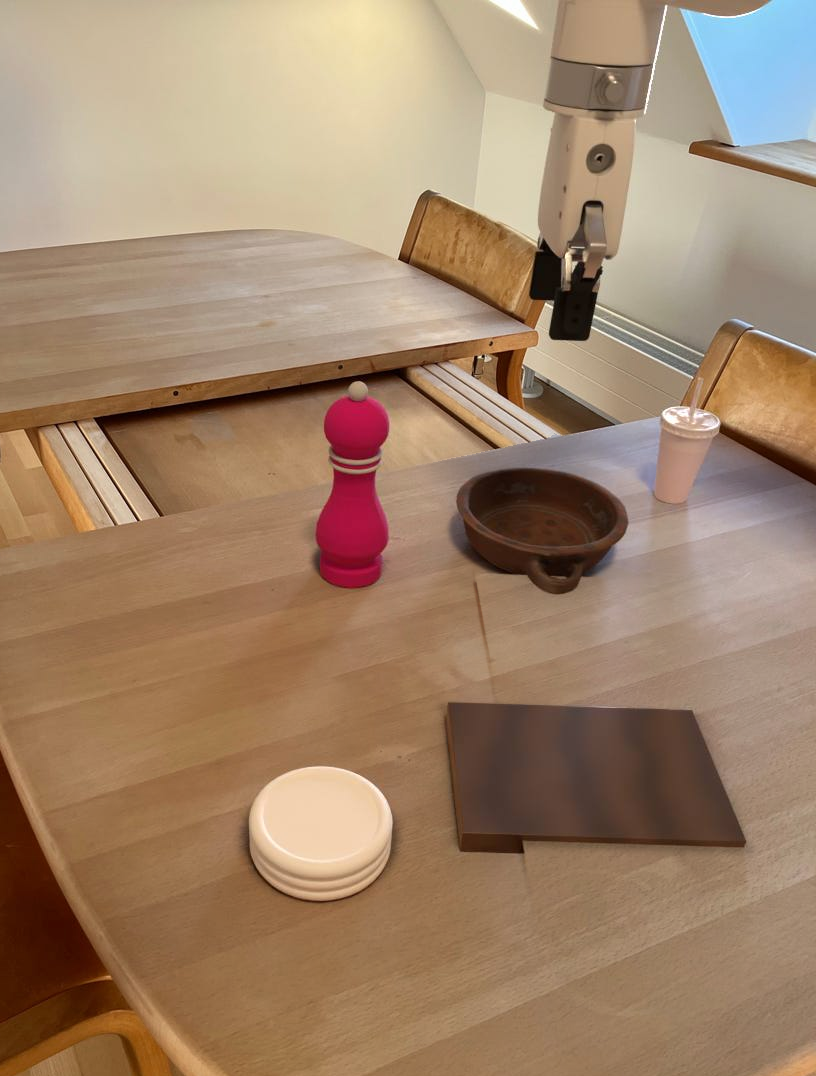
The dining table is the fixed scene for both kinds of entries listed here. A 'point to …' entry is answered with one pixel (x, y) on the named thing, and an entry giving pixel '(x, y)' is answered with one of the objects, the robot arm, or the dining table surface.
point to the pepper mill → (353, 491)
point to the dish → (541, 523)
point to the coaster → (320, 833)
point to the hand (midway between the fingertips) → (556, 318)
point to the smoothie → (683, 448)
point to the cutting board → (584, 777)
